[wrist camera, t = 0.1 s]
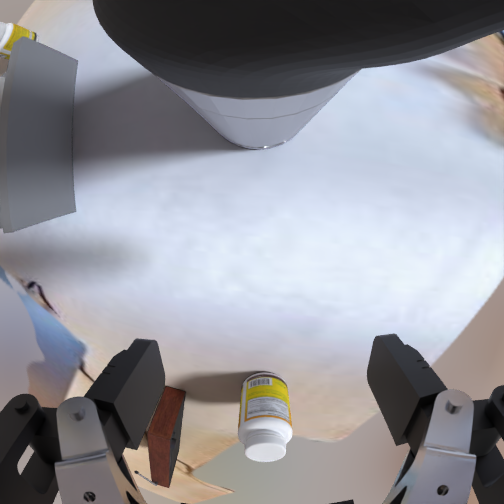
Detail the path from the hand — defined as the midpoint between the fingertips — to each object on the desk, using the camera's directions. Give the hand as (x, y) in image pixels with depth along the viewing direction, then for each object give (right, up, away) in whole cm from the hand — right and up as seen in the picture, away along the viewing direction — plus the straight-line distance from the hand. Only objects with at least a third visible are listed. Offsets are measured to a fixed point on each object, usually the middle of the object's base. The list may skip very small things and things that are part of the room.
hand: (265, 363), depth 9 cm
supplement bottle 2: (+1, -12, +22) cm, 25 cm away
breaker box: (-26, +17, +14) cm, 34 cm away
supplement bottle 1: (-31, +32, +10) cm, 46 cm away
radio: (-12, -20, +24) cm, 34 cm away
